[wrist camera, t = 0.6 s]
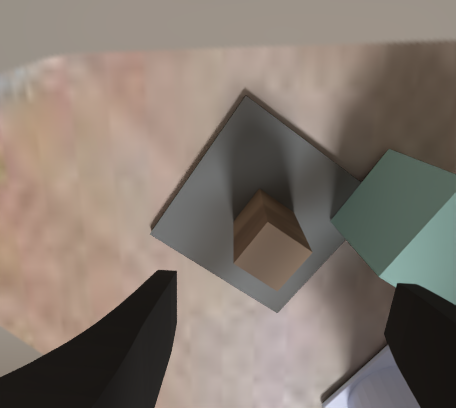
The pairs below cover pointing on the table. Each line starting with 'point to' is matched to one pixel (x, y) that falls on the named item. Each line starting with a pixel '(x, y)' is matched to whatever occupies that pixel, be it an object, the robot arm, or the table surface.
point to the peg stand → (259, 208)
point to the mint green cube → (405, 223)
